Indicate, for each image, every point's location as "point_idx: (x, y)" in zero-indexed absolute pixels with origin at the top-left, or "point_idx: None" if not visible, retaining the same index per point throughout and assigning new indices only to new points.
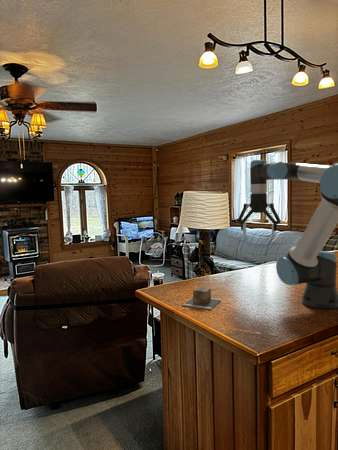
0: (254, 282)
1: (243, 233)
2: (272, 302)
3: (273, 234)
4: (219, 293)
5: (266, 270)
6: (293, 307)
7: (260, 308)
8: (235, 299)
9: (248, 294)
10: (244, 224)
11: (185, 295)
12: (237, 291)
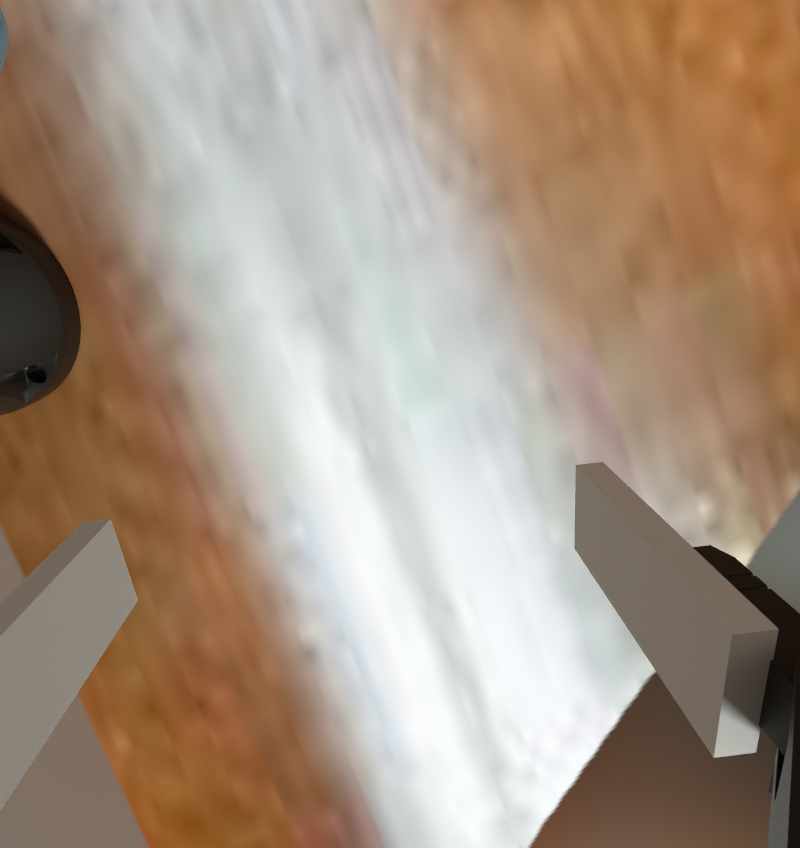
0: (457, 535)
1: (626, 495)
2: (212, 186)
3: (45, 573)
4: (578, 202)
5: (475, 776)
6: (65, 150)
7: (225, 10)
8: (438, 123)
9: (403, 277)
10: (723, 627)
11: (784, 25)
12: (487, 306)
